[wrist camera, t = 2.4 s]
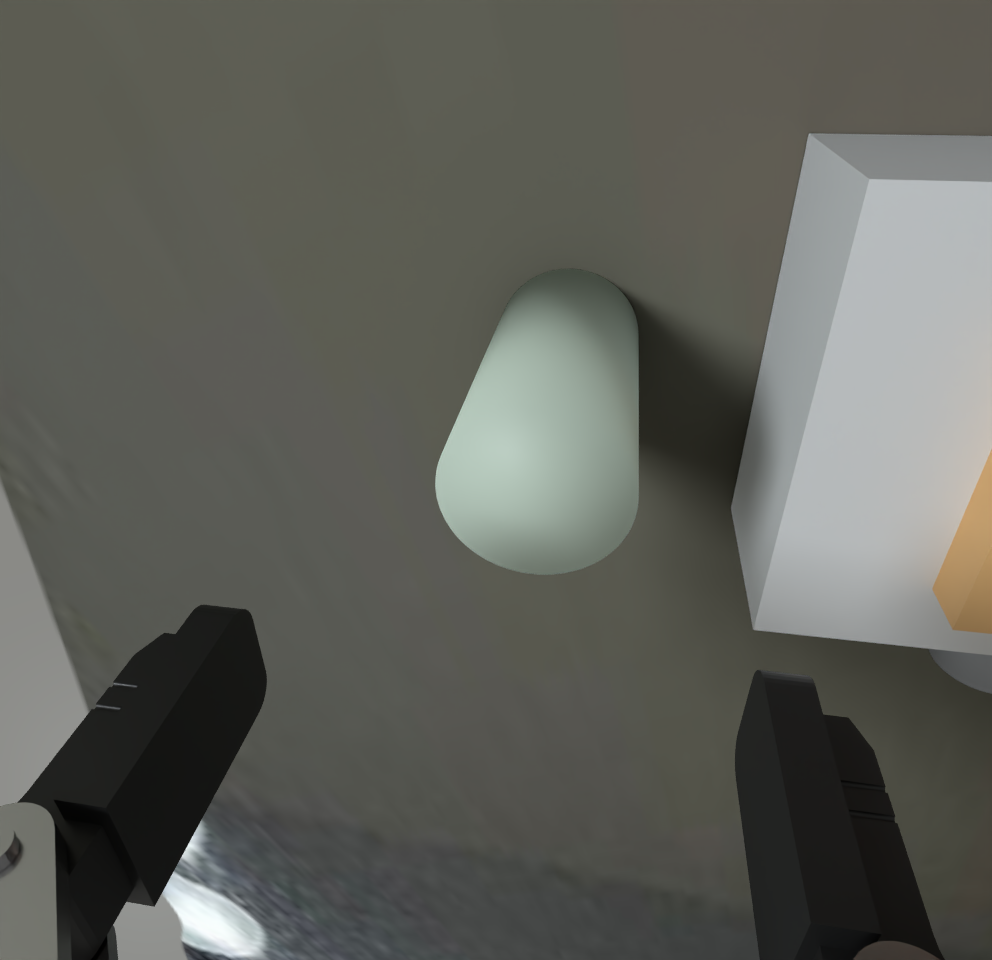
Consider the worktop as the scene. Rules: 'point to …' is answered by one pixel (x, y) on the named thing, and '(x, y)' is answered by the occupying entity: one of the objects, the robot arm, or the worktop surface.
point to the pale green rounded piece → (549, 430)
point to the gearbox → (878, 405)
